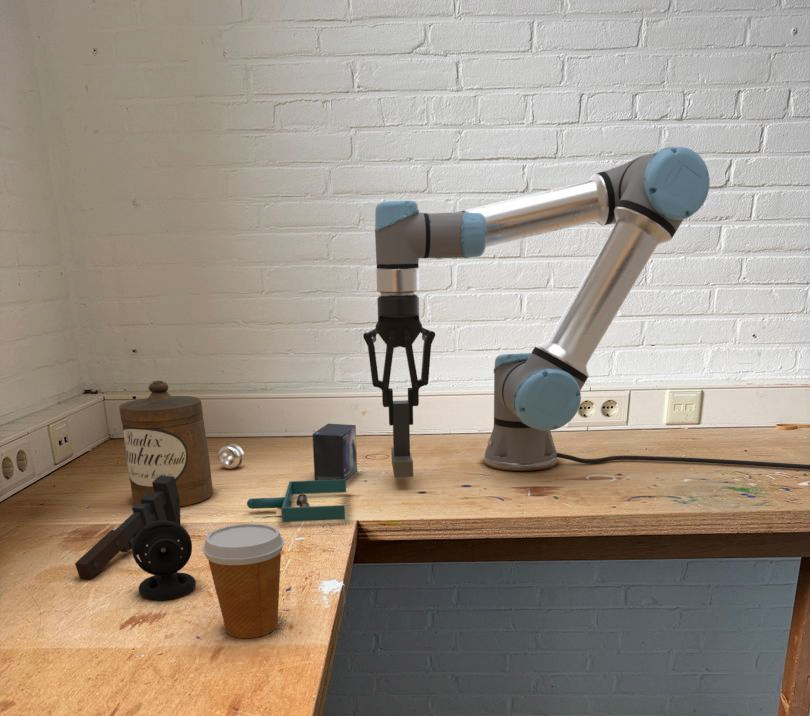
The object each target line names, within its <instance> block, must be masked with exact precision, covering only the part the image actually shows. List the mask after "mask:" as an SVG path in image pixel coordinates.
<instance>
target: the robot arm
mask: <svg viewBox="0 0 810 716" xmlns="http://www.w3.org/2000/svg"><path fill="white" fill-rule="evenodd" d="M704 160H705V159H703V157H701V155H700V154H698V153H697V152H696V151H695V150H693V149H691V148H689V147H683V146H676V147H675V146H668V147H664V148H662V149H660V150H658V151H656V152H653V153H648V154H645V155H641V156H639V157H636V158H634V159H632V160H629V161H627V162H625V163H623V164H620V165H618V166H616V167H612V168H610V169H607V170H604V171H600V172H599V171H598V172H594V173H592V175H591V176H590V177H589V179H588V180H586V181H582V182H577V183H573V184H568V185H565V186H561V187H560V186H559V187H556V188H552V189H548V190H543V191H538V192H536V193H535V192H534V193H531V194H527V195H526V194H525V195H523V196H518V197H514V198H510V199H509V198H508V199H506V200H502V201H497V202H493V203H489V204H485V205H480V206H477V207H476V206H475V207H471V208H467V209H464V210H460V211H455V212H433V213H427V212H420V209H419V206H418V202H416V201H415V200H385V201H380V202H379V203H377V204H376V206H375V210H374V211H375V215H374V216H375V217H374V219H375V220H374V221H375V222H374V238H375V239H374V241H375V263H376V292H378V293H379V294H380V295H378V296H377V299H376V300H377V322H376V324H375V327H374V328H373V329H371V330H368V331H365V332H363V333H362V336H363V339H364V341H365V343H366V346H367V351H368V359H369V366H370V376H371V384H372V386H373V387H374V388H378V389H380V390H381V396H382V397H381V398H382V399H381V400H382V401H381V402H382V403H381V404H382V407H383V408H388V425H389V426H393V401H394V390H393V388H392V387H390V380H391V372H392V365H393V357H394V349H396V348H404V349H405V355H406V361H407V367H408V373H409V378H410V385H411V387H407V400H408V402H409V426H412V425H414V407H418V406H419V404H420V394H419V392H420V389H421V388H423V387H425V386H427V385H429V379H430V378H429V377H430V367H431V366H430V365H431V355H432V354H431V352H432V344H433V342H434V340H435V338H436V332H435V331H434V330H433V329H428V328H425V327H423V324H422V322H421V319H420V297H419V295H418V294H417V293H418V292H419V291H420V271H419V270H420V269H419V266H420V265H419V260H420V259H437V260H438V259H469V258H480V257H481V256H483V255H484V253H485V250H486V248H490V247H493V246H494V247H495V246H498V245H503V244H506V243H511V242H515V241H519V240H524V239H528V238H532V237H537V236H540V235H545V234H550V233H554V232H558V231H562V230H566V229H571V228H576V227H579V226H585V225H588V224H593V223H594V224H595V225H597V226H598V227H604V226H607V225H612V224H614V226H613V228H612V230H611V231H610V232H609V235H608V236H607V238H606V240H605V241H604V243H603V245H602V246H601V248H600V250H599V252H598V253H597V255H596V257H595V259H594V260H593V262H592V264H591V266H590V267H589V269H588V271H587V272H586V274H585V276H584V277H583V279H582V281H581V283H580V284H579V286H578V288H577V289H576V291H575V293H574V294H573V296H572V298H571V300H570V301H569V303H568V305H567V307H566V308H565V310H564V312H563V314H562V315H561V317H560V319H559V320H558V322H557V324H556V326H555V327H554V329H553V330H552V333H551V334H550V336H549V338H548V339H547V341H545V342H542V343H539V344H537V345H535V346H534V347H533V350H532V351H531V352H524V353H523V352H521V353H504V354H502V353H501V354H499V355H497V356H496V357H495V359H494V368H493V378H494V379H493V380H494V381H493V427H492V431H491V434H490V437H489V438H488V440H487V446H486V449H485V452H484V463H485V465H487V466H489V467H490V468H493V469H498V470H503V471H511V472H512V471H513V472H515V471H516V472H533V471H541V470H547V469H550V468H552V467H555V466H556V465H557V464H558V458H559V459H564V460H569V461H573V462H576V463H579V464H580V463H581V464H600V463H606V462H612V461H648V462H649V461H650V462H651V461H652V462H674V463H675V462H676V463H677V462H678V463H699V464H702V463H703V464H717V465H734V466H750V467H766V468H778V469H779V468H783V469H794V470H795V469H796V470H810V464H806V463H805V464H804V463H803V464H802V463H791V462H790V463H787V462H773V461H758V460H757V461H755V460H741V459H739V460H738V459H725V458H724V459H723V458H706V457H705V458H704V457H685V456H683V457H682V456H660V455H659V456H657V455H654V456H653V455H629V454H628V455H627V454H626V455H625V454H624V455H611V456H604V457H600V458H599V457H598V458H581V457H577V456H574V455H572V454H571V455H570V454H565V453H561V452H557V449H556V446H555V443H554V439H553V436H552V431H554V430H555V431H556V430H557V429H560V428H563V427H564V426H566V425H567V424H569V423H570V422H571V421H572V420H573V419H574V417H575V416H576V414H577V413H578V411H579V409H580V406H581V402H582V393H581V390H582V389H583V387H584V386H585V383H586V382H587V380H588V378H589V377H590V374H589V368H588V363H589V362H590V359H591V357H592V356H593V354H594V353H595V351H596V350H597V348H598V346H599V344H600V343H601V341H602V340H603V338H604V336H605V334H607V331H608V329H609V328H610V326H611V325H612V323H613V322H614V319H615V318H616V316H617V314H618V313H619V311H620V310H621V308H622V306H623V304H624V303H625V302H626V299H627V298H628V296H629V295H630V293H631V291H632V289H633V288H634V286H635V284H636V283H637V281H638V279H639V278H640V277H641V275H642V273H643V271H644V269H645V268H646V266H647V264H648V262H650V259H651V258H652V256H653V254H654V253H655V252H656V249H657V248H658V247H659V246H660V245H664V244H667V243H670V242H672V240H673V237H674V236H675V234H676V233H677V231H678V230H679V228H680V226H681V224H682V223H683V221H684V220H686V219H688V218H691V217H692V216H693V215H694V214H696V213H697V212H698V211H699V210H700V209H701V208H702V207H703V205H704V203H705V202H706V200H707V197H708V195H709V191H710V184H711V183H710V182H711V181H710V180H711V179H710V175H709V174H710V173H709V169H708V166H707V164H706V162H705V161H704ZM420 334H421V339H422V341H423V346H422V347H423V348H422V359H421V360H422V361H421V373H420V374H421V375H420V378H419V379H418V373H417V372H418V371H417V368H416V361H415V356H414V355H415V354H414V348H413V344H414V342H415V341H416V339H417V338H418V336H419V335H420ZM377 335H378V336H379V337H380V338H381V340H382V341H383V342H384V344H385V345H386V347H385V356H384V364H383V372H382V373H383V374H382V380H381V379H379V371H378V363H377V356H376V347H375V343H376V341H377Z"/></svg>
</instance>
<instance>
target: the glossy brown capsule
mask: <svg viewBox="0 0 810 716" xmlns="http://www.w3.org/2000/svg"><path fill="white" fill-rule="evenodd" d="M299 507H311V505H310V503H309V502H308V501H307V502H303V503H301V505H300V506H299Z"/></svg>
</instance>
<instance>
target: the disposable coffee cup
mask: <svg viewBox="0 0 810 716" xmlns="http://www.w3.org/2000/svg"><path fill="white" fill-rule="evenodd" d="M284 546H285V540H284V538H283V537H282V536H281V532H280V530H279V529H278V528H277V527H276V526H273V525H271V524H266V523H256V522H255V523H253V522H251V523H247V522H246V523H237V524H232V525H226V526H223V527H219V528H217V529H214V530H211V531H210V532H208V533H207V534H206V536H205V538H204V545H203V546H202V549H201V550H202V553H203V555H204V556H205V558H206V559H207V561H208V565H209V570H210V573H211V577H212V580H213V585H214V589H215V593H216V597H217V600H218V601H217V602H218V604H219V609H220V613H221V617H222V620H223V623H224V624H223V625H224V629H225V632H226V633H227V635H229V636H231V637H233V638H239V639H253V638H259V637H263V636H267V635H268V634H271V633H272V632H274V631H275V630H276V629H277V628H278V625H279V624H278V622H279V621H278V620H279V602H280V601H279V600H280V580H281V560H282V559H281V558H282V552H283V548H284Z"/></svg>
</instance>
